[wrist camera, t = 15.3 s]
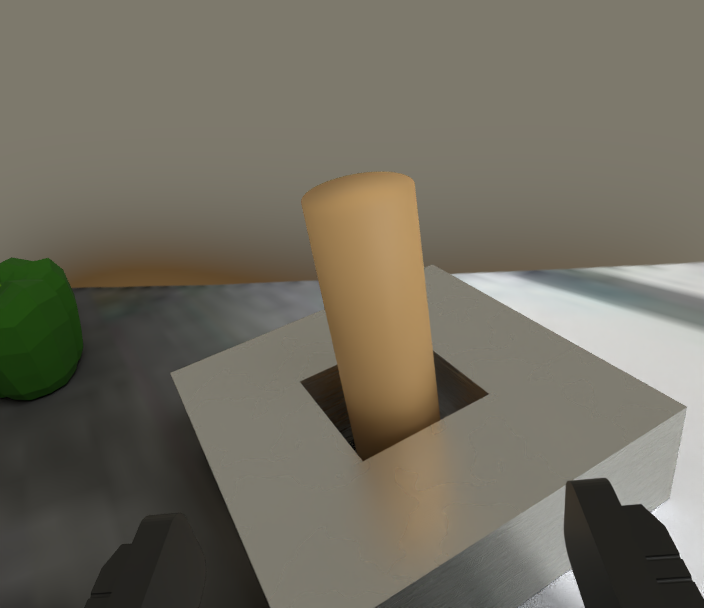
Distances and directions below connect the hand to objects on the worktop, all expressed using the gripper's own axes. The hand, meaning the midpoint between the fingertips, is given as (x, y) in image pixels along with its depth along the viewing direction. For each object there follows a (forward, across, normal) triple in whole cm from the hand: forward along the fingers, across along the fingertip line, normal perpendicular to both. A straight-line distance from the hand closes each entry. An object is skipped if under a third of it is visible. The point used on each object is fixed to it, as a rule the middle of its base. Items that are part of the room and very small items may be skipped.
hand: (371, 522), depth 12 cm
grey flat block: (+11, 0, +11) cm, 15 cm away
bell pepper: (+22, +25, +11) cm, 35 cm away
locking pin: (+11, 0, +11) cm, 15 cm away
